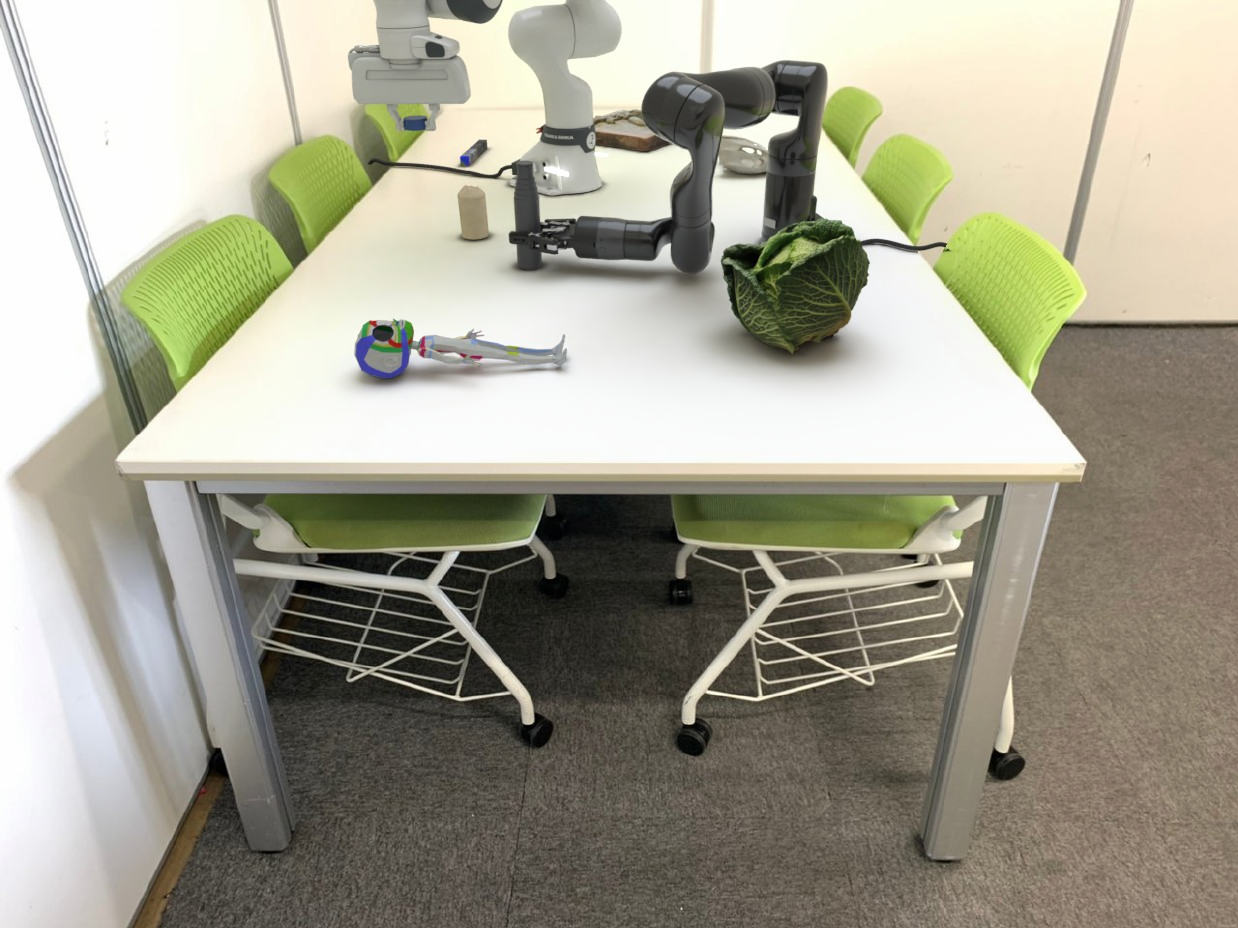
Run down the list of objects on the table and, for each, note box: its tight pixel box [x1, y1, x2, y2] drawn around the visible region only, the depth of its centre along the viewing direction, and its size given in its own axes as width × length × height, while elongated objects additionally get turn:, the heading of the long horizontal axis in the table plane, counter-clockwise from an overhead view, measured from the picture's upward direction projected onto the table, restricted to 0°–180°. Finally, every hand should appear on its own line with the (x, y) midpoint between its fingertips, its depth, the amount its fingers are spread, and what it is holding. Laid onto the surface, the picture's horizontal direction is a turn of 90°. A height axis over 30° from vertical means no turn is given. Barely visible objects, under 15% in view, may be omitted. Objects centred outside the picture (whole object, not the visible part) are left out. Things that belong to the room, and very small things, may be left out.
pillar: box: [459, 139, 488, 167], centre depth 240 cm, size 2×2×20 cm
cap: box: [403, 114, 428, 132], centre depth 158 cm, size 4×4×2 cm
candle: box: [456, 184, 490, 240], centre depth 181 cm, size 6×6×10 cm
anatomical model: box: [718, 134, 768, 175], centre depth 221 cm, size 15×9×25 cm
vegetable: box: [720, 217, 871, 354], centre depth 134 cm, size 20×19×20 cm
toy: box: [353, 318, 568, 379], centre depth 130 cm, size 10×8×30 cm
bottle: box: [513, 161, 543, 271], centre depth 164 cm, size 5×5×19 cm
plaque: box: [593, 108, 671, 152], centre depth 257 cm, size 30×7×30 cm
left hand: (416, 130), depth 159 cm, fingers closed on cap, 4 cm apart
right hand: (514, 233), depth 166 cm, fingers closed on bottle, 4 cm apart
